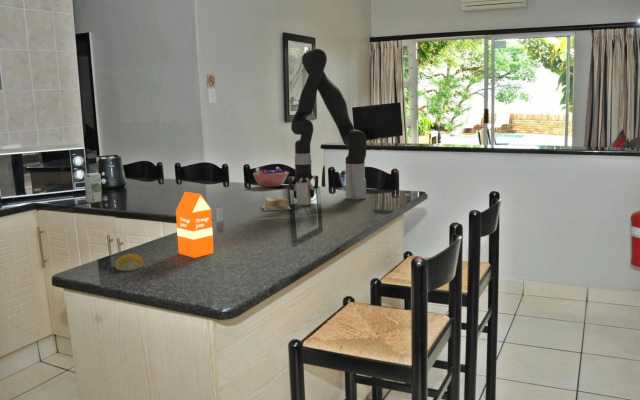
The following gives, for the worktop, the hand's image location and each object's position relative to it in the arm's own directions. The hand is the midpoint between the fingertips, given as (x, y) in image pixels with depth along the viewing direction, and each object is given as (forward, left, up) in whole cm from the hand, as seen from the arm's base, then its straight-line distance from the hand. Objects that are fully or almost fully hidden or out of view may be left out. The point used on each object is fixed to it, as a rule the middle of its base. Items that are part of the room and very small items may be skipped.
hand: (303, 198), depth 272 cm
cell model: (+8, -59, -3) cm, 59 cm away
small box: (0, 0, -3) cm, 3 cm away
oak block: (+14, +7, -2) cm, 16 cm away
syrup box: (+99, -41, -3) cm, 107 cm away
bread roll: (+70, +84, -3) cm, 109 cm away
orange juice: (+50, +74, -3) cm, 89 cm away
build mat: (+14, +7, -3) cm, 16 cm away
